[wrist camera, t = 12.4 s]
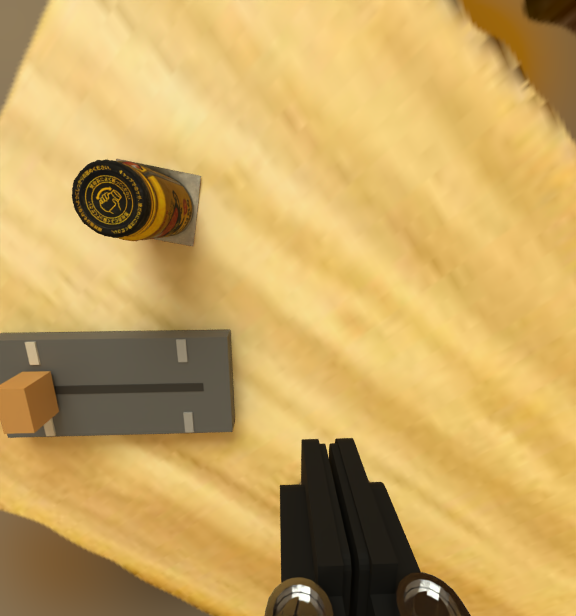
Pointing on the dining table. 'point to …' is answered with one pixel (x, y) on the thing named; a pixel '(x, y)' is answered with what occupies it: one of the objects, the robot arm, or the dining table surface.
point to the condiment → (137, 201)
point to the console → (129, 380)
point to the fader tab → (27, 402)
